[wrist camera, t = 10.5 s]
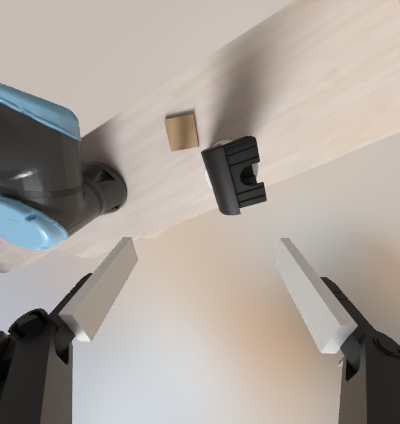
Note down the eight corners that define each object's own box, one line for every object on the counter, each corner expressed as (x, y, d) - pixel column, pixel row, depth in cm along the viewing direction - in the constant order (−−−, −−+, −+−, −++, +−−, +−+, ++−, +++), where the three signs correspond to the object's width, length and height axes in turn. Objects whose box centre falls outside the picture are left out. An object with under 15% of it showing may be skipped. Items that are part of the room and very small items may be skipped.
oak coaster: (172, 151, 39) (171, 151, 38) (165, 120, 36) (164, 119, 35) (198, 146, 38) (198, 146, 37) (193, 114, 35) (193, 113, 34)
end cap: (202, 149, 25) (198, 153, 19) (245, 133, 23) (256, 132, 17) (219, 202, 29) (220, 219, 23) (256, 191, 27) (269, 207, 21)
